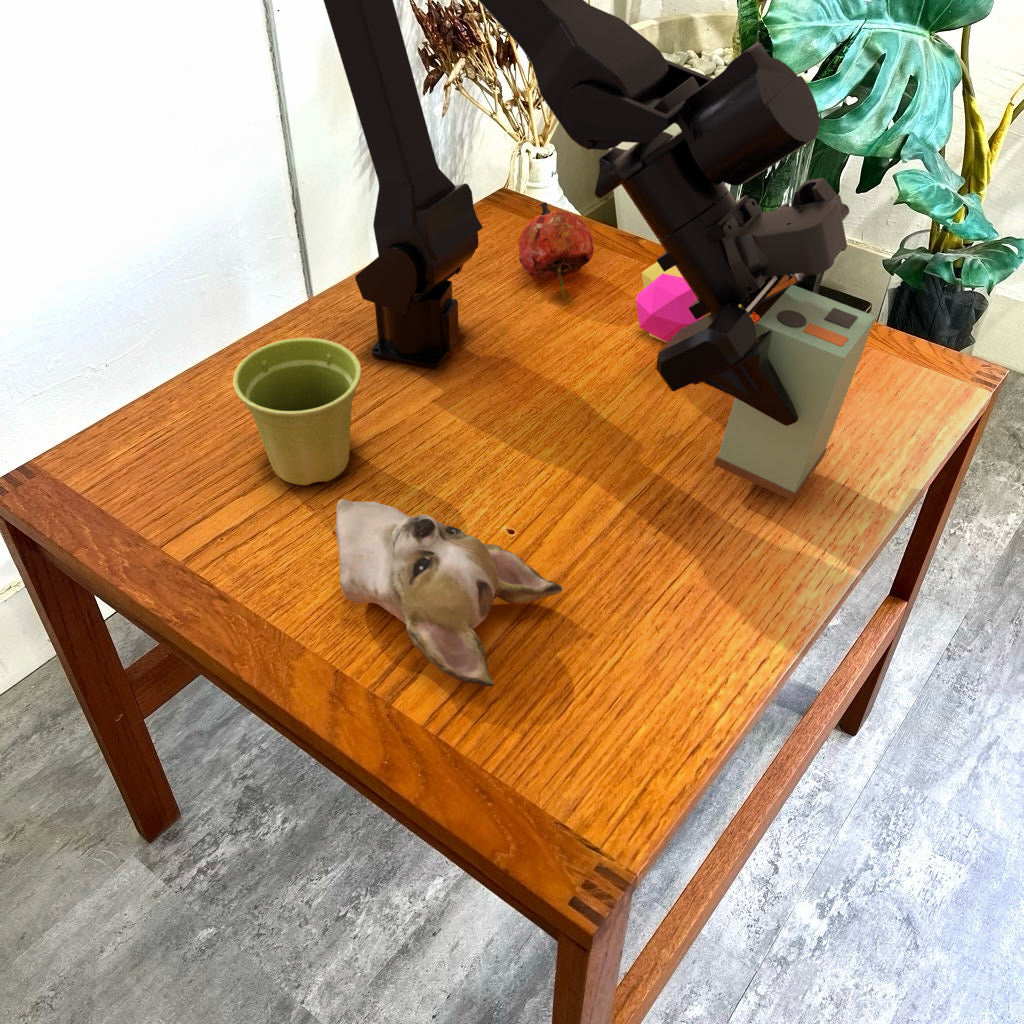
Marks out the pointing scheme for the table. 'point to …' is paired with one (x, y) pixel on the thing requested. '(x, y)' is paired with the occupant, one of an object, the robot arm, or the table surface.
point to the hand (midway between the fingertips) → (811, 396)
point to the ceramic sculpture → (431, 581)
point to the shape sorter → (797, 390)
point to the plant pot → (301, 405)
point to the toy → (664, 302)
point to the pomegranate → (555, 245)
